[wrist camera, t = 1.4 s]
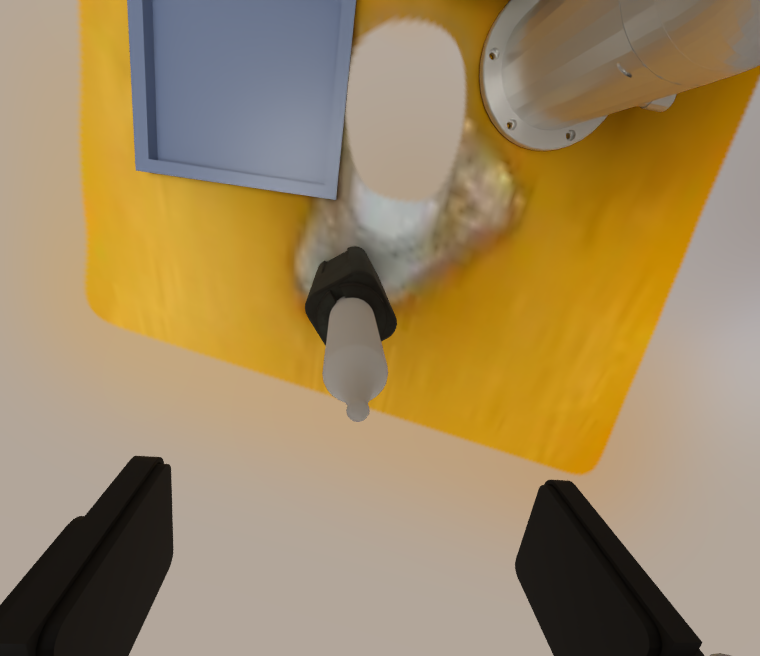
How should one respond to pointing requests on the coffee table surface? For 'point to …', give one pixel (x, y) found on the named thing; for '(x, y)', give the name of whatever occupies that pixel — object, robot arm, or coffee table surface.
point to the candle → (351, 328)
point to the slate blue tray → (242, 90)
